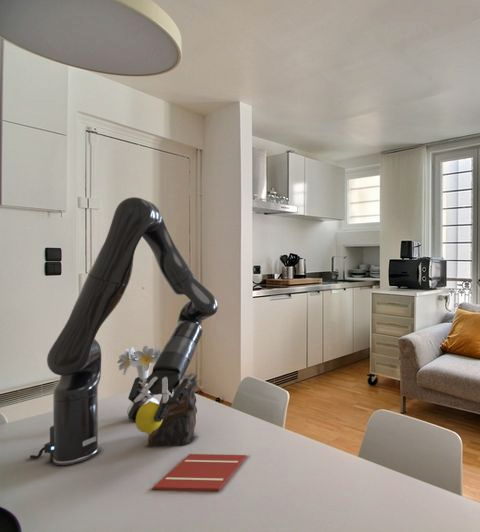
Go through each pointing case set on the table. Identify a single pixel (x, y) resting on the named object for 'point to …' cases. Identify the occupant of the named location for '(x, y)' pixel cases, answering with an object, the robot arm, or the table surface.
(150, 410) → the lemon
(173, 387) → the robot arm
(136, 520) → the table surface
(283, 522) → the table surface
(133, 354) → the flower vase
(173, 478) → the pot holder
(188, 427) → the brown rock
